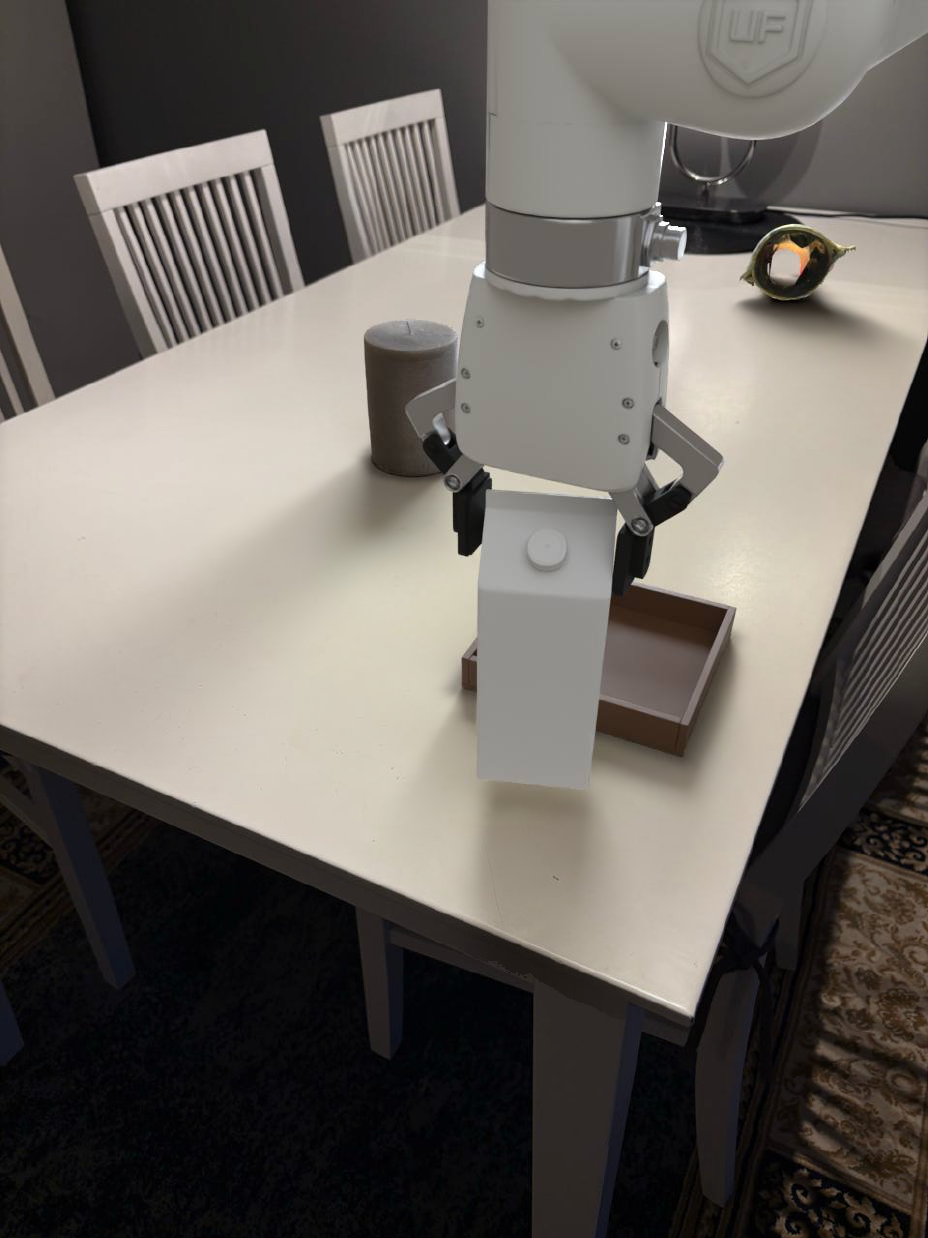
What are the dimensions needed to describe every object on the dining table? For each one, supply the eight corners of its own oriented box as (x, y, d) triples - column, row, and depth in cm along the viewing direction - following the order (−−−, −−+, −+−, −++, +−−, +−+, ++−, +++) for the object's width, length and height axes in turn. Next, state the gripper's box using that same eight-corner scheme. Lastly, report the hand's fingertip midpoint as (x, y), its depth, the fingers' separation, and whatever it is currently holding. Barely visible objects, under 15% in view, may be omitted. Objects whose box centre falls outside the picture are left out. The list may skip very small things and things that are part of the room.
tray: (730, 636, 75) (736, 607, 73) (682, 757, 64) (688, 726, 62) (535, 585, 81) (537, 556, 79) (461, 687, 70) (461, 657, 68)
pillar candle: (374, 480, 96) (365, 341, 87) (368, 440, 104) (359, 307, 95) (465, 473, 97) (465, 335, 88) (452, 434, 105) (451, 303, 96)
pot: (838, 216, 149) (853, 202, 132) (848, 287, 152) (863, 282, 135) (730, 246, 154) (731, 237, 138) (741, 314, 157) (744, 313, 140)
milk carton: (489, 706, 63) (493, 459, 52) (591, 715, 63) (619, 467, 51) (475, 781, 58) (477, 523, 46) (588, 792, 57) (618, 533, 46)
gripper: (779, 244, 41) (716, 567, 51) (434, 205, 47) (440, 500, 57) (744, 292, 35) (681, 642, 46) (359, 240, 41) (381, 560, 52)
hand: (547, 562), depth 51 cm, fingers closed on milk carton, 8 cm apart
